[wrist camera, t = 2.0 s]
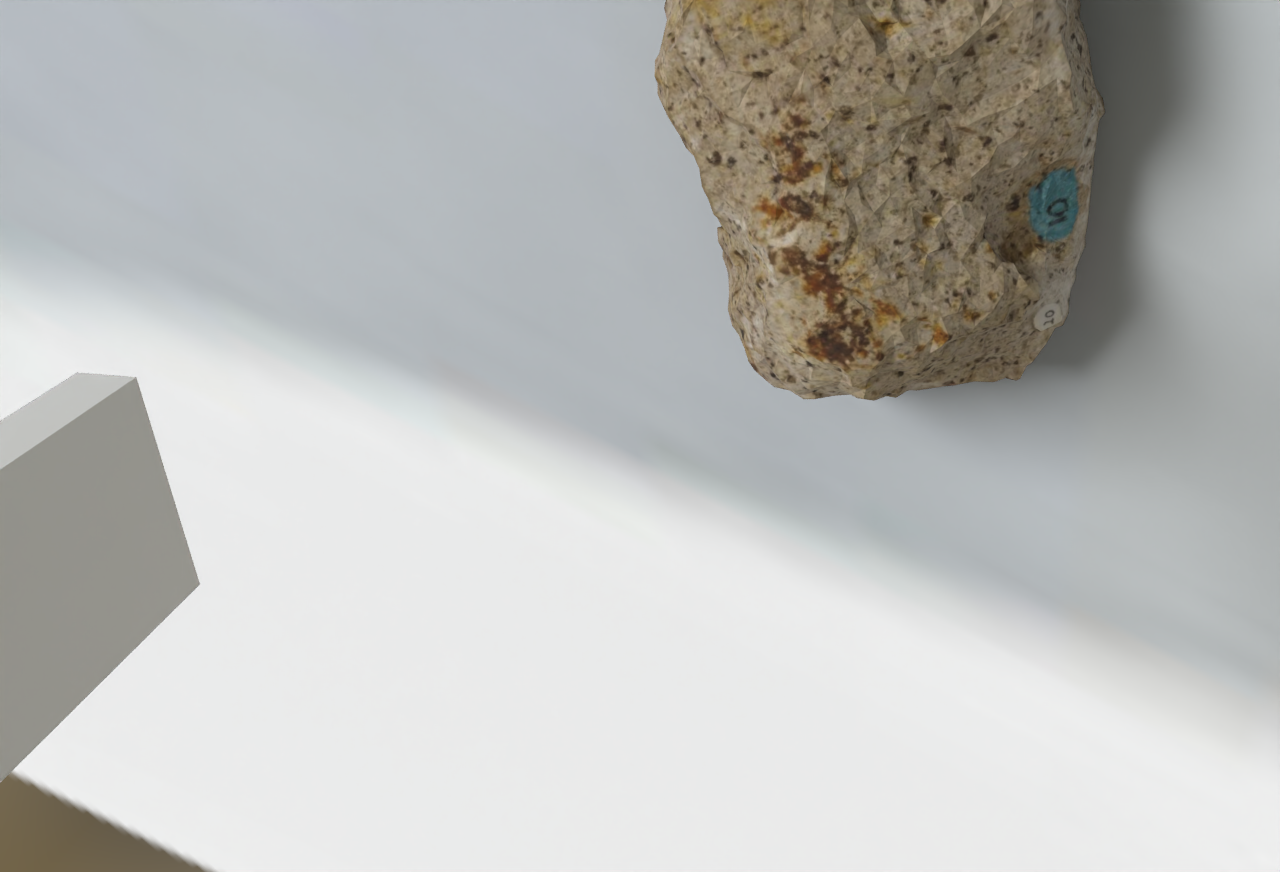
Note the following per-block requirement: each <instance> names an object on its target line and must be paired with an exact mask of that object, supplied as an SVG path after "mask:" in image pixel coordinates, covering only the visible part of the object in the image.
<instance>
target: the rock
mask: <svg viewBox="0 0 1280 872" xmlns="http://www.w3.org/2000/svg"><path fill="white" fill-rule="evenodd" d="M664 9H665V13H666V17H667V23H666V27H665V32H664V36H663V40H662V44H661V49H660V53H659V55H658V57H657V58H656V60H655V78H656V80H657V83H658V96H659V98H660V100H661V102H662V105H663V107H664V109H665V111H666V113H667V115H668V117H669V119H670V121H671V122H672V124H673V125H674V127H675V129H676V130H677V132H678V133H679V135H680V137H681V139H682V141H683V143H684V145H685V147H686V148H687V149H688V150H689V151H690V152H691V153H692V154H693V155H694V157H695V159H696V162H697V164H698V166H699V169H700V176H701V182H702V187H703V189H704V191H705V193H706V195H707V197H708V199H709V202H710V205H711V208H712V211H713V214H714V215H715V216H716V217H717V218H718V220H719V222H720V223H721V225H722V226H721V227H718V228H717V229H718V242H719V244H720V246H721V247H722V249H723V259H724V262H725V265H726V268H727V271H728V274H729V304H728V311H729V315H730V319H731V322H732V326H733V327H734V329H735V330H736V331H737V333H738V334H739V336H740V339H741V341H742V343H743V346H744V348H745V351H746V354H747V358H748V361H749V363H750V364H751V365H752V367H753V368H754V370H755V371H756V372H757V373H758V374H760V375H761V376H762V377H763V378H764V379H765V380H766V381H768V382H769V383H770V384H771V385H773V386H774V387H777V388H781V389H786V390H790V391H792V392H793V393H795V394H796V395H798V396H800V397H801V398H803V399H817V398H823V397H829V396H835V395H853V396H855V397H856V398H861V399H867V400H877V399H879V398H882V397H885V396H889V397H898V396H899V395H901V394H903V393H904V392H906V391H908V390H922V389H929V388H936V387H942V386H951V385H958V384H963V383H968V382H973V381H981V382H995V381H998V380H1001V379H1004V378H1008V379H1012V380H1018V379H1020V378H1021V376H1022V374H1023V372H1024V370H1025V368H1026V366H1027V365H1029V364H1030V363H1032V362H1033V361H1034V360H1035V358H1036V357H1037V356H1038V354H1039V353H1040V351H1041V350H1042V349H1043V347H1044V346H1045V345H1046V343H1047V341H1048V340H1049V338H1050V336H1051V335H1052V333H1053V331H1054V330H1055V328H1057V327H1059V326H1062V325H1063V324H1064V322H1065V320H1066V318H1067V316H1068V313H1069V299H1070V291H1071V289H1072V286H1073V284H1074V281H1075V278H1076V267H1077V265H1078V262H1079V259H1080V257H1081V254H1082V252H1083V250H1084V248H1085V245H1086V243H1085V236H1086V230H1087V223H1088V215H1089V206H1090V195H1091V180H1092V174H1093V168H1094V152H1095V148H1096V137H1097V131H1098V125H1099V120H1100V119H1101V117H1102V116H1103V115H1104V114H1105V109H1104V103H1103V98H1102V97H1101V95H1100V94H1099V92H1098V91H1097V89H1096V87H1095V84H1094V80H1093V74H1092V68H1091V60H1090V54H1089V48H1088V42H1087V35H1086V33H1085V31H1084V29H1083V24H1082V22H1081V20H1080V19H1079V16H1080V0H666V2H665V7H664Z"/></svg>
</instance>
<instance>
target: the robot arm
mask: <svg viewBox="0 0 1280 872" xmlns="http://www.w3.org/2000/svg"><path fill="white" fill-rule="evenodd" d="M199 585H200V583H199V580H198V577H197V573H196V570H195V567H194V564H193V560H192V557H191V554H190V551H189V547H188V544H187V541H186V538H185V534H184V531H183V528H182V525H181V521H180V518H179V515H178V512H177V508H176V505H175V502H174V499H173V495H172V492H171V489H170V486H169V482H168V479H167V476H166V473H165V469H164V466H163V463H162V460H161V456H160V453H159V450H158V447H157V443H156V440H155V437H154V434H153V430H152V427H151V424H150V421H149V417H148V414H147V411H146V408H145V404H144V401H143V398H142V395H141V391H140V388H139V385H138V382H137V378H136V377H127V376H114V375H102V374H89V373H76V374H74V375H73V376H71V377H69V378H68V379H66V380H65V381H63V382H61V383H60V384H58V385H57V386H55V387H54V388H52V389H50V390H49V391H47V392H46V393H44V394H42V395H41V396H39V397H38V398H36V399H35V400H33V401H31V402H30V403H28V404H27V405H25V406H23V407H22V408H20V409H19V410H17V411H16V412H14V413H12V414H11V415H9V416H8V417H6V418H4V419H3V420H1V421H0V782H1V781H2V780H3V779H4V778H5V777H6V776H7V775H8V774H9V773H10V772H11V771H12V770H13V769H14V768H15V767H16V766H17V765H18V764H19V763H20V762H21V761H22V760H23V759H24V758H25V757H26V756H27V755H28V754H29V753H30V752H31V751H32V750H33V749H34V748H35V747H36V746H37V745H38V744H39V743H40V742H41V741H42V740H43V739H45V738H46V737H47V736H48V735H49V734H50V733H51V732H52V731H53V730H54V729H55V728H56V727H57V726H58V725H59V724H60V723H61V722H62V721H63V720H64V719H65V718H66V717H67V716H68V715H69V714H70V713H71V712H72V711H73V710H74V709H75V708H76V707H77V706H78V705H79V704H80V703H81V702H82V701H83V700H84V699H85V698H86V697H87V696H88V695H89V694H90V693H91V692H92V691H93V690H94V689H95V688H96V687H97V686H98V685H99V684H100V683H101V682H102V681H103V680H104V679H105V678H106V677H107V676H108V675H109V674H110V673H111V672H112V671H113V670H114V669H115V668H116V667H117V666H118V665H119V664H120V663H121V662H122V661H123V660H124V659H125V658H126V657H127V656H128V655H129V654H130V653H131V652H132V651H133V650H134V649H135V648H136V647H137V646H138V645H139V644H140V643H141V642H142V641H143V640H144V639H145V638H146V637H147V636H148V635H149V634H150V633H151V632H152V631H153V630H154V629H155V628H156V627H157V626H158V625H159V624H160V623H161V622H162V621H163V620H164V619H165V618H166V617H167V616H168V615H169V614H170V613H171V612H172V611H173V610H174V609H175V608H176V607H177V606H178V605H180V604H181V603H182V602H183V601H184V600H185V599H186V598H187V597H188V596H189V595H190V594H191V593H192V592H193V591H194V590H195V589H196V588H197V587H198V586H199Z"/></svg>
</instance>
